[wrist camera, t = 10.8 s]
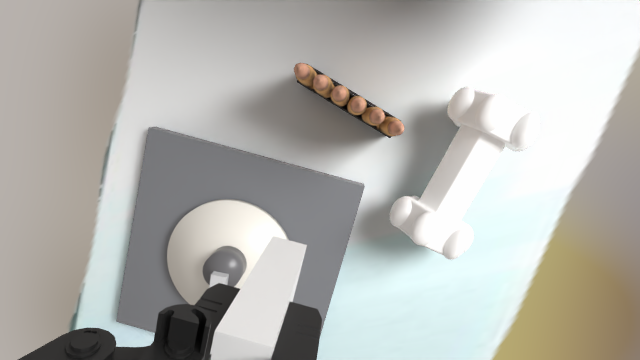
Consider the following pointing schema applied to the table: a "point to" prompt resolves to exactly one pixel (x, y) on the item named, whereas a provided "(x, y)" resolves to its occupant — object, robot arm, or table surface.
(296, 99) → the table surface
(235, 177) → the dial base
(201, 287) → the dial
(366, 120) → the ammunition clip
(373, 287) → the table surface
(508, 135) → the white bone
